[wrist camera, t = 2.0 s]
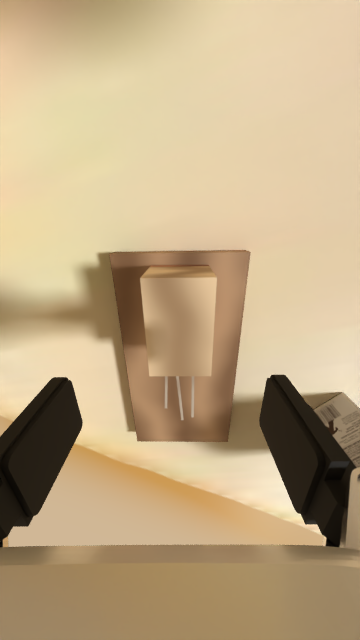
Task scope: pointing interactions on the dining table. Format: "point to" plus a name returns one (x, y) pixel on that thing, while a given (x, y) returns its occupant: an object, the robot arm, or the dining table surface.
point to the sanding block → (179, 319)
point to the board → (182, 391)
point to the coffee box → (343, 424)
